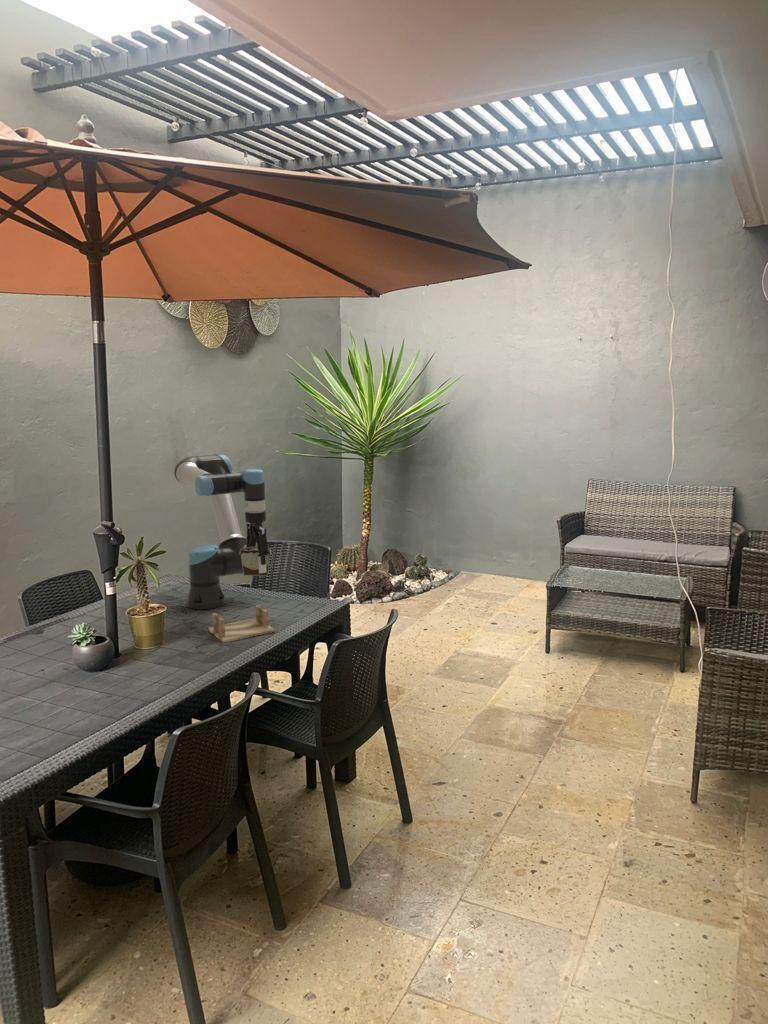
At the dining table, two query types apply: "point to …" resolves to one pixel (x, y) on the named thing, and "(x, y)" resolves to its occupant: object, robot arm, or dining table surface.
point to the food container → (253, 561)
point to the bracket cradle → (241, 627)
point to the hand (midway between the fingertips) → (258, 569)
